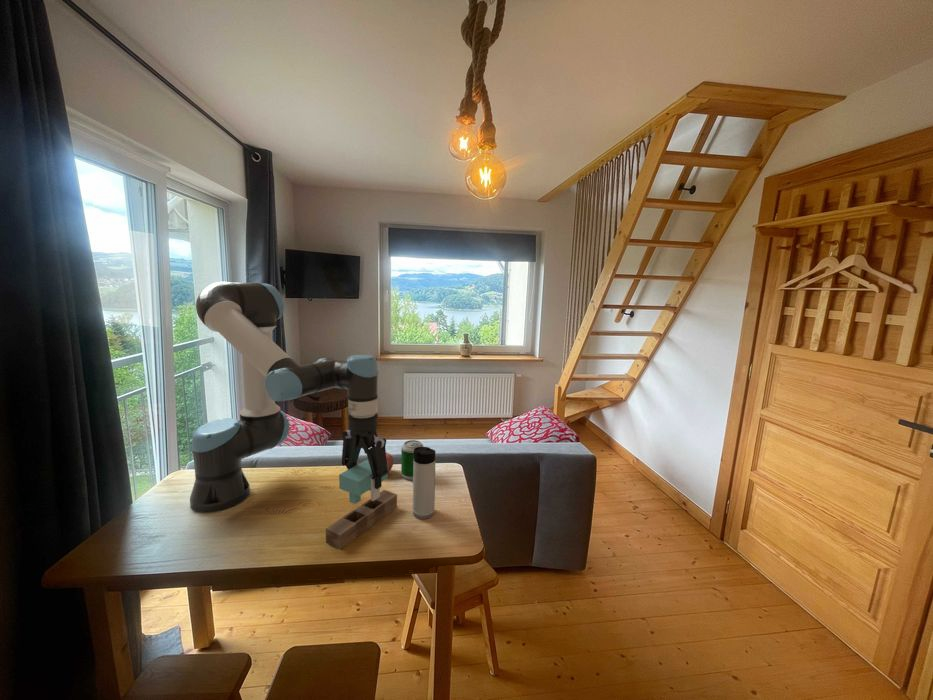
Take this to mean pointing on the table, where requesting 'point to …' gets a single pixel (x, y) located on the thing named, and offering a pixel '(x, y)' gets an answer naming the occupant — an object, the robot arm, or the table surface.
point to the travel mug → (423, 482)
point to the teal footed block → (357, 480)
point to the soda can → (408, 458)
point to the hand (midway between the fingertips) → (364, 494)
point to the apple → (389, 461)
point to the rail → (360, 520)
